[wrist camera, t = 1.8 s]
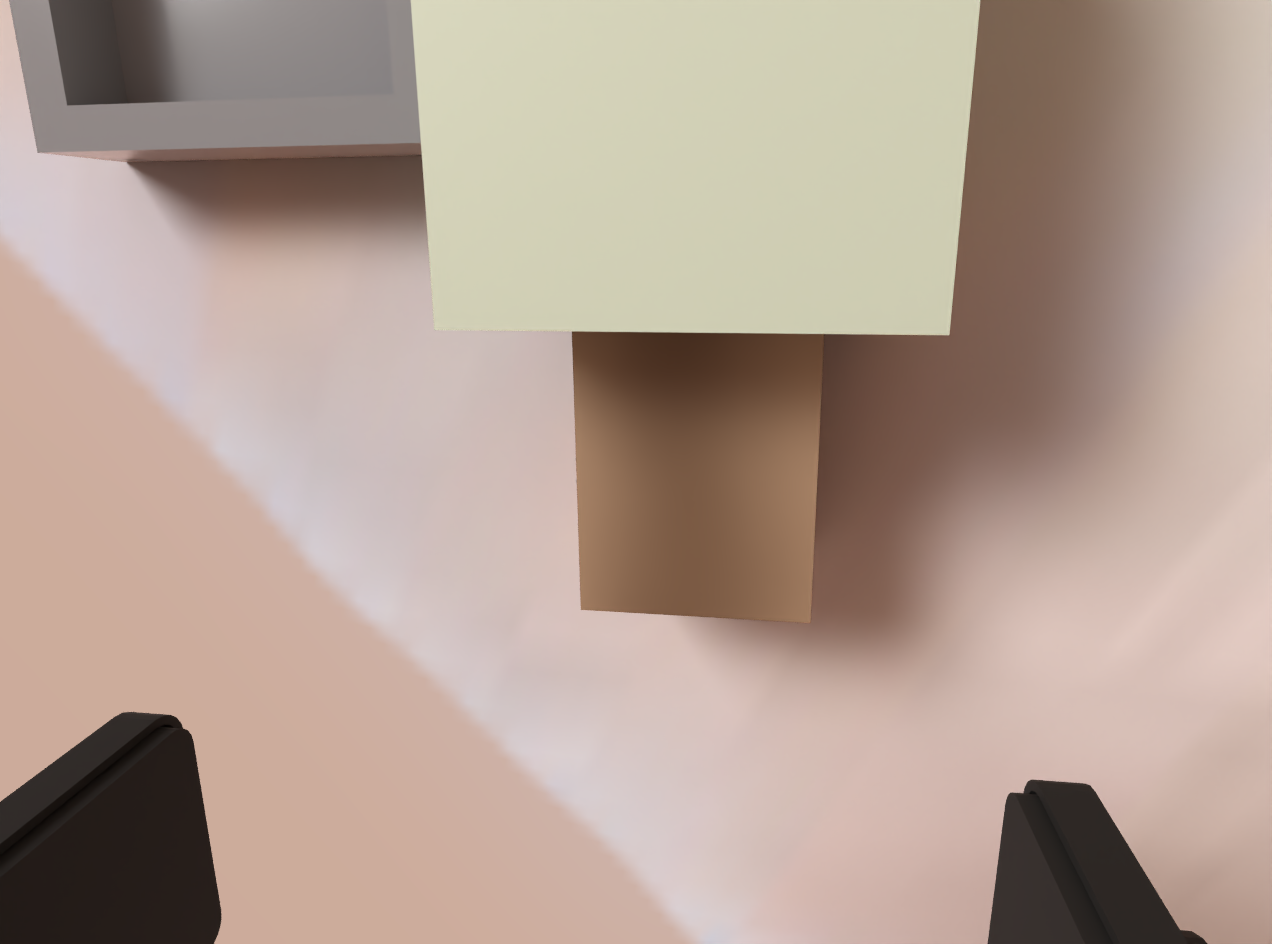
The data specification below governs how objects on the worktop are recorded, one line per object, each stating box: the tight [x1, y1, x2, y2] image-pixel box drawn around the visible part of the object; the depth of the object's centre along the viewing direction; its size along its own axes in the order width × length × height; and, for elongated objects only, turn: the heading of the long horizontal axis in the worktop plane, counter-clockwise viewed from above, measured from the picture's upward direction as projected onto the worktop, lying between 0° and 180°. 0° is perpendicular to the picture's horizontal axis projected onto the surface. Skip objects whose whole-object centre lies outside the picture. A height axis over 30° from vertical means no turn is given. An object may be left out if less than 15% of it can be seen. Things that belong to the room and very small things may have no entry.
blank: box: [572, 331, 824, 623], centre depth 19 cm, size 5×10×5 cm, turn 0°
